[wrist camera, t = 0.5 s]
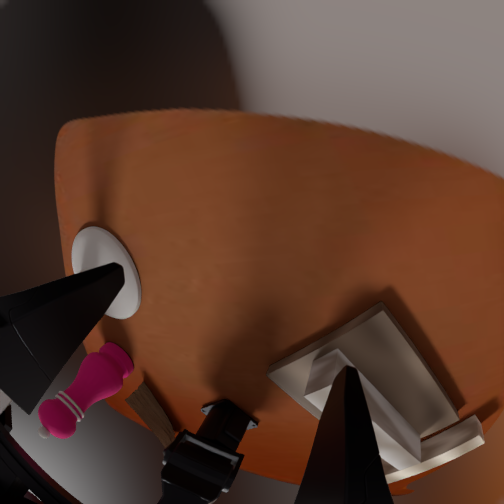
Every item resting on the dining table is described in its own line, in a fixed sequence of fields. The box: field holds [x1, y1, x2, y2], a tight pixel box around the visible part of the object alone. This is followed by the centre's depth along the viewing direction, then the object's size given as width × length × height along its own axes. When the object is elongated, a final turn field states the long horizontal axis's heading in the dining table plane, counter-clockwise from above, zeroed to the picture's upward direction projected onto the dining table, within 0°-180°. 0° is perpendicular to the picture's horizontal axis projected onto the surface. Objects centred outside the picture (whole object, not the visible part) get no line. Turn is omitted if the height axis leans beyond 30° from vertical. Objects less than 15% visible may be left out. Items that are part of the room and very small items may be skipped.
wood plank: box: [125, 381, 175, 448], centre depth 39 cm, size 15×2×5 cm, turn 16°
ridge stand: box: [266, 301, 459, 470], centre depth 23 cm, size 14×22×6 cm, turn 46°
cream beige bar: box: [381, 415, 485, 483], centre depth 25 cm, size 18×4×4 cm, turn 139°
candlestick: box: [72, 226, 141, 319], centre depth 19 cm, size 13×13×30 cm
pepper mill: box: [38, 342, 134, 439], centre depth 30 cm, size 7×7×20 cm
